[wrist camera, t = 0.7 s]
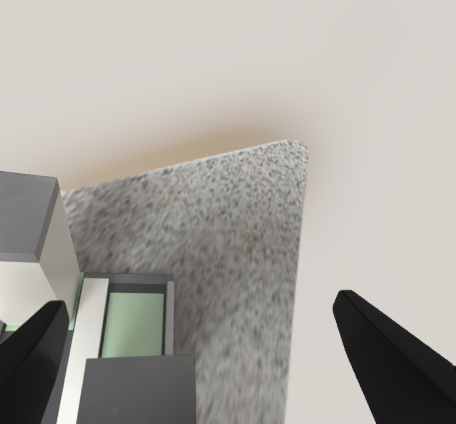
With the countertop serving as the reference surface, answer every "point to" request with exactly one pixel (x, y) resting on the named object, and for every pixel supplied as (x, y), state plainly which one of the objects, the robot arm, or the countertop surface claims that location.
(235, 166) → the countertop surface
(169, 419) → the tab
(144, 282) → the switch board
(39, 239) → the tab
